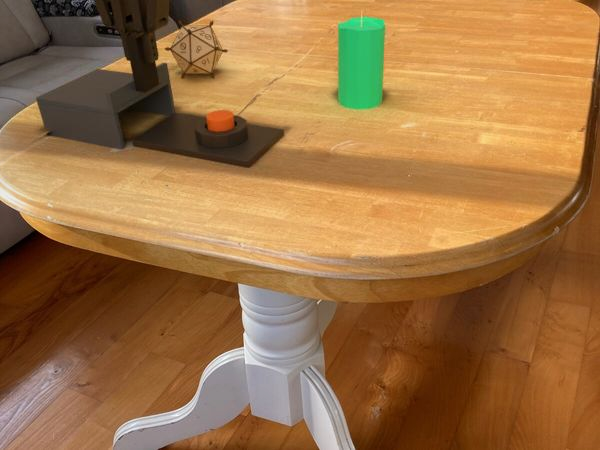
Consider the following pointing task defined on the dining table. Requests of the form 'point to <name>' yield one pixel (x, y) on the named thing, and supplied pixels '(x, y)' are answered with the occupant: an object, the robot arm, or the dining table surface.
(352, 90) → the candle
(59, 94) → the cover
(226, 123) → the orange button cap
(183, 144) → the dark grey button base
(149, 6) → the robot arm
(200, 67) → the game die
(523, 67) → the dining table surface
